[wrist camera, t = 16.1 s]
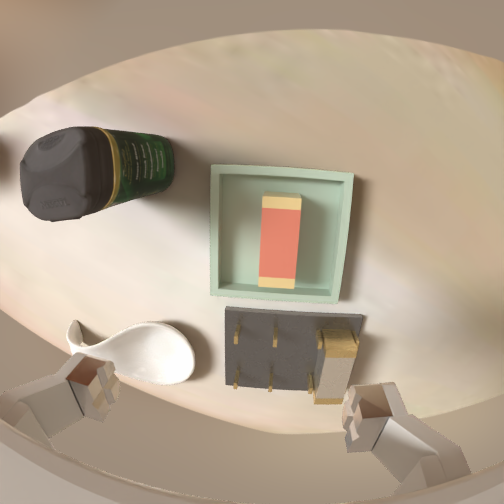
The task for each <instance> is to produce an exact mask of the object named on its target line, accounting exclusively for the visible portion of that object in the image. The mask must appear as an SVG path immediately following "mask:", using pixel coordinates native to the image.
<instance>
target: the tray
mask: <svg viewBox="0 0 504 504" xmlns="http://www.w3.org/2000/svg"><path fill="white" fill-rule="evenodd" d="M353 178H354V173H349V172H341V171H331V170H321V169H309V168H296V167H280V166H262V165H235V164H212V165H211V182H210V295H212V296H223V297H235V298H247V299H261V300H275V301H291V302H308V303H328V304H338V299H339V293H340V287H341V281H342V274H343V268H344V261H345V253H346V246H347V238H348V230H349V221H350V211H351V201H352V190H353ZM265 191H273V192H289V193H299V195H300V196H301V198H302V202H301V216H300V229H299V241H298V253H297V264H296V274H295V284H294V289H286V288H271V287H258V279H259V259H260V238H261V217H262V196H263V194H264V192H265Z"/></svg>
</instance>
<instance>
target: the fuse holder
mask: <svg viewBox="0 0 504 504" xmlns="http://www.w3.org/2000/svg"><path fill="white" fill-rule="evenodd" d="M362 320H363V317H362V315H361V314H339V313H315V312H296V311H280V310H265V309H251V308H239V307H227V306H226V308H225V379H226V385H232V386H234V389H237V387H238V386H242V387H253V388H265V389H269V390H268V392H272V389H281V390H304V391H308V394H312V391H313V399H314V404H342V402H343V397H344V394H345V392H346V389H347V385H348V381H349V378H350V375H351V371H352V368H353V364H354V361H355V358H356V355H357V351H358V347H359V340H358V336H359V332H360V328H361V324H362Z"/></svg>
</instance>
